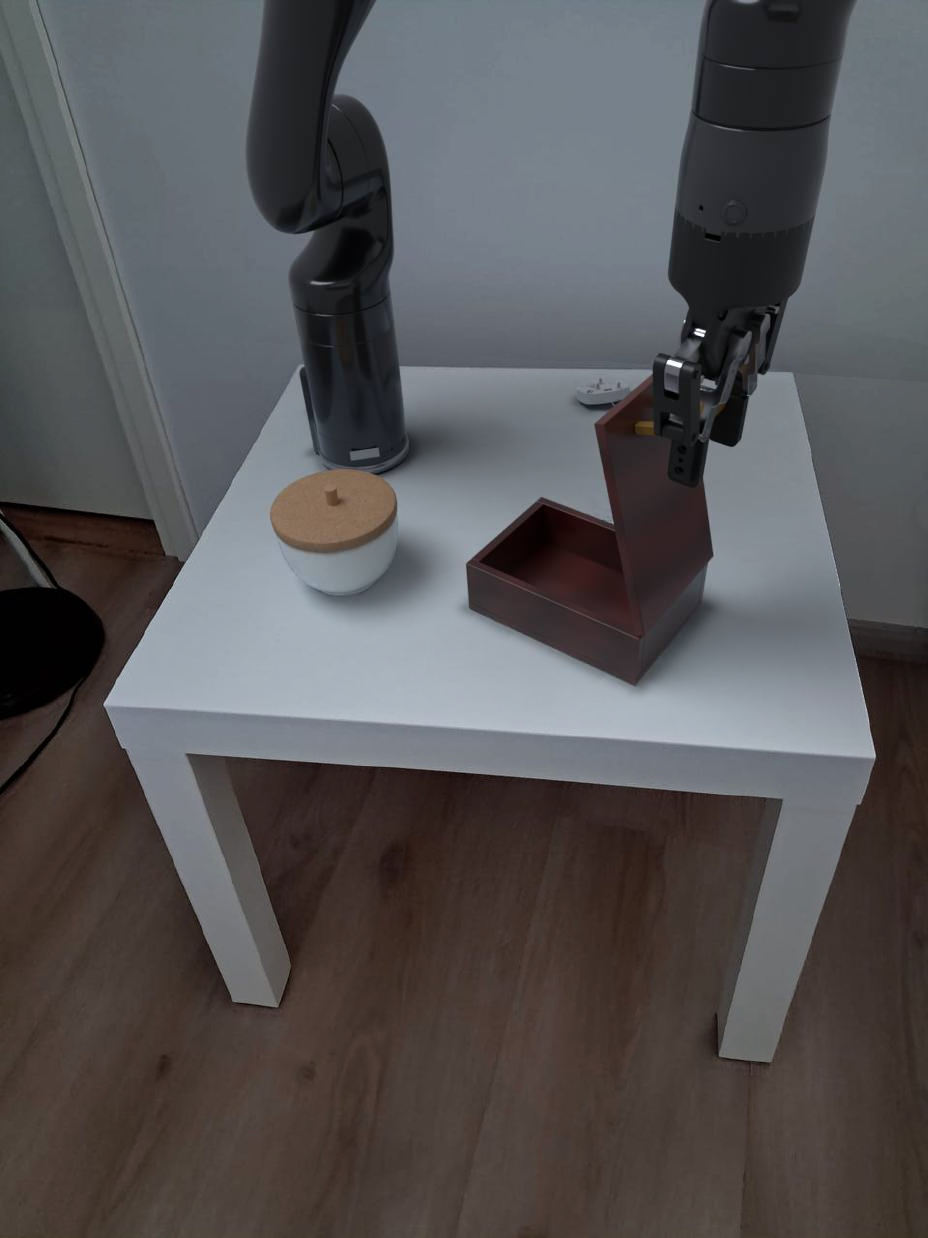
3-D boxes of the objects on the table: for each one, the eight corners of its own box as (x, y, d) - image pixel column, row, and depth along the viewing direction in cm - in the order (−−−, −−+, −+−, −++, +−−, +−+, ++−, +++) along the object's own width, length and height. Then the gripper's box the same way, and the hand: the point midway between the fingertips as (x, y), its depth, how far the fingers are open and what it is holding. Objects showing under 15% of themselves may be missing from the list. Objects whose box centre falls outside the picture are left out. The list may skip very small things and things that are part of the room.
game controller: (609, 382, 106) (610, 361, 105) (676, 426, 99) (678, 404, 97) (568, 397, 104) (569, 376, 103) (633, 443, 97) (635, 421, 95)
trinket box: (388, 620, 79) (374, 532, 73) (269, 608, 81) (246, 521, 75) (418, 542, 87) (408, 456, 81) (308, 533, 89) (290, 448, 83)
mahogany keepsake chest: (468, 608, 80) (465, 563, 76) (541, 541, 86) (541, 496, 83) (635, 686, 72) (639, 639, 69) (701, 606, 78) (708, 559, 75)
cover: (593, 423, 60) (663, 427, 56) (676, 352, 66) (743, 352, 63) (635, 634, 69) (697, 648, 66) (704, 554, 75) (764, 563, 72)
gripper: (739, 151, 57) (702, 399, 69) (618, 230, 49) (600, 495, 61) (861, 172, 53) (800, 429, 65) (753, 261, 45) (706, 536, 57)
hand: (704, 460), depth 63 cm, fingers closed on cover, 5 cm apart
